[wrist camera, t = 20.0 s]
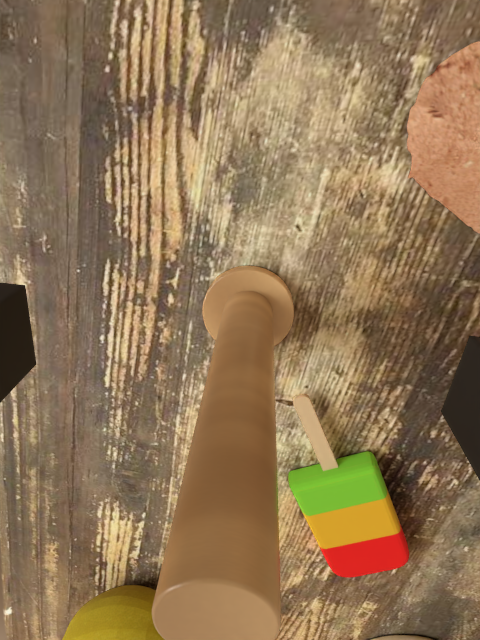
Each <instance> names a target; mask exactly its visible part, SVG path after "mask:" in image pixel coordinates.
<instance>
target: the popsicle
mask: <svg viewBox="0 0 480 640" xmlns="http://www.w3.org/2000/svg"><path fill="white" fill-rule="evenodd" d="M293 404H294V407H295V409H296V411H297V414H298V416H299V418H300V420H301V423H302V425H303V427H304V429H305V432H306V434H307V436H308V438H309V441H310V443H311V445H312V447H313V450H314V452H315V454H316V456H317V459H318V461H319V464H315V465H312V466H308V467H304V468H300V469H296V470H292V471H290V472H289V475H288V477H289V486H290V488H291V490H292V492H293V494H294V496H295V498H296V500H297V502H298V504H299V506H300V509H301V511H302V513H303V515H304V517H305V519H306V521H307V523H308V525H309V527H310V529H311V531H312V533H313V535H314V537H315V539H316V541H317V543H318V545H319V547H320V549H321V551H322V553H323V555H324V557H325V559H326V561H327V563H328V565H329V566H330V568H331V569H332V571H333V572H334V573H335V574H337V575H338V576H341V577H356V576H362V575H367V574H372V573H377V572H382V571H387V570H392V569H396V568H399V567H401V566H403V565H405V564H406V563H407V561H408V558H409V550H408V545H407V542H406V538H405V535H404V533H403V530H402V527H401V525H400V522H399V520H398V517H397V514H396V512H395V509H394V506H393V504H392V501H391V498H390V496H389V493H388V490H387V488H386V485H385V482H384V480H383V477H382V474H381V472H380V469H379V466H378V464H377V461H376V458H375V456H374V455H373V453H372V452H369V451H365V452H362V453H358V454H354V455H350V456H346V457H342V458H338V459H335V456H334V454H333V452H332V449H331V447H330V445H329V442H328V440H327V438H326V435H325V433H324V431H323V428H322V426H321V423H320V421H319V419H318V416H317V414H316V412H315V409H314V407H313V405H312V402H311V400H310V398H309V396H308V395H307V394H299V395H297V396H295V397H294V398H293Z"/></svg>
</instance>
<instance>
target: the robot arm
mask: <svg viewBox="0 0 480 640" xmlns="http://www.w3.org/2000/svg"><path fill="white" fill-rule="evenodd" d="M35 365H36V359H35V352H34V345H33V338H32V331H31V324H30V317H29V310H28V303H27V296H26V289H25V285H16V284H7V283H0V402H1V401H2V400H3V399H4V398H5V397H6V396H7V395H8V394H9V393H10V392H11V390H12V389H13V388H14V387H15V386H16V385H17V384H18V383H19V382H20V381H21V380H22V379H23V378H24V377H25V376H26V374H27V373H28V372H29V371H30V370H31V369H32V368H33V367H34V366H35ZM441 412H442V414H443V416H444V418H445V419H446V421H447V423H448V425H449V427H450V428H451V430H452V432H453V434H454V436H455V437H456V439H457V441H458V443H459V444H460V446H461V448H462V450H463V452H464V453H465V455H466V457H467V459H468V460H469V462H470V464H471V466H472V468H473V469H474V471H475V473H476V475H477V476H478V478H479V480H480V337H475V336H469V339H468V342H467V344H466V347H465V350H464V352H463V355H462V357H461V360H460V363H459V365H458V368H457V371H456V373H455V376H454V379H453V381H452V384H451V387H450V389H449V392H448V394H447V397H446V400H445V402H444V405H443V408H442V410H441Z"/></svg>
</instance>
